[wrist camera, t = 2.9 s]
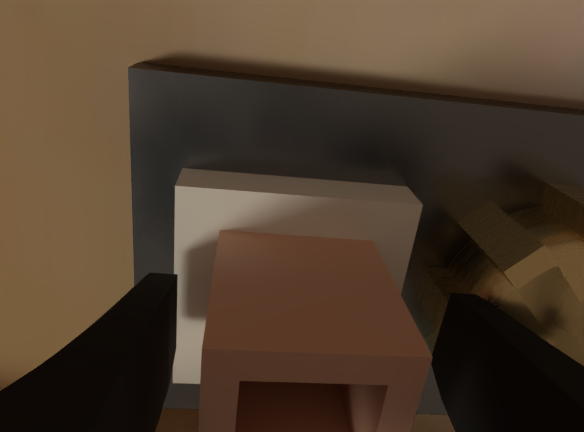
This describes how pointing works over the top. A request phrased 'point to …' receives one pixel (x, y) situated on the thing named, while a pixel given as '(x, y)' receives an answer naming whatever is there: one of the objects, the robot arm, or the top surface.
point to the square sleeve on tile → (296, 303)
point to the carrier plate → (388, 171)
